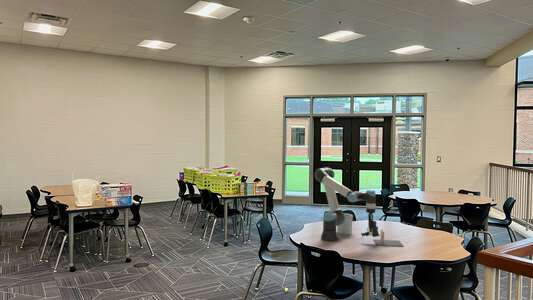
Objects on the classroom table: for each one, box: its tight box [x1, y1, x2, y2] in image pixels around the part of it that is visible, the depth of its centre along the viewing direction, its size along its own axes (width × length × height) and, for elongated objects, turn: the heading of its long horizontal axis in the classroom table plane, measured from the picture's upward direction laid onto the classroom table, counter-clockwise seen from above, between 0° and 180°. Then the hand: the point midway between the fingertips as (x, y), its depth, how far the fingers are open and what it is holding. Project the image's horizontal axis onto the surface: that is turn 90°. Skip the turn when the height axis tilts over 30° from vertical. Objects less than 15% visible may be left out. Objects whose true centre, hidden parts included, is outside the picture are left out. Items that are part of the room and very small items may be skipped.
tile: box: [379, 229, 385, 244], centre depth 337 cm, size 2×10×10 cm, turn 172°
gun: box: [360, 220, 381, 238], centre depth 338 cm, size 3×17×15 cm
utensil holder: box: [336, 213, 354, 235], centre depth 374 cm, size 15×15×18 cm
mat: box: [373, 238, 404, 248], centre depth 336 cm, size 22×18×1 cm
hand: (370, 234), depth 338 cm, fingers closed on gun, 3 cm apart
